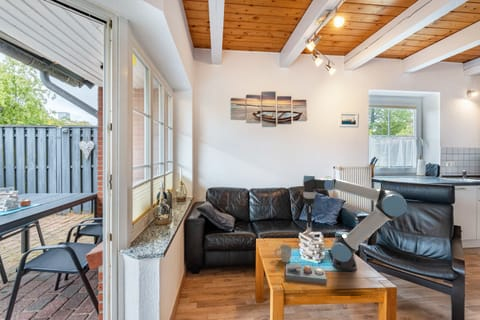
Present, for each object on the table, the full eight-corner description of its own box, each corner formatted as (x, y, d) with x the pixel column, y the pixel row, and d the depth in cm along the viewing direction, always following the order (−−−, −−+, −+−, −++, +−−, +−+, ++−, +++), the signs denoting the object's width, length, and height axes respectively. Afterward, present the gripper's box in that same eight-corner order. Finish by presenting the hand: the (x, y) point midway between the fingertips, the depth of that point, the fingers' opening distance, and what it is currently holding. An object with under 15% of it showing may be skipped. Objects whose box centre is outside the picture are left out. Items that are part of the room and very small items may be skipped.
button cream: (322, 273, 145) (322, 268, 145) (323, 277, 141) (323, 272, 141) (315, 273, 146) (315, 268, 146) (316, 276, 142) (316, 271, 142)
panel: (323, 272, 150) (323, 265, 149) (326, 284, 136) (326, 276, 136) (286, 268, 155) (286, 262, 155) (285, 279, 141) (285, 272, 141)
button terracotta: (310, 270, 147) (310, 265, 146) (311, 273, 142) (311, 268, 142) (304, 269, 147) (304, 264, 147) (304, 273, 143) (304, 268, 143)
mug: (291, 263, 162) (291, 249, 161) (274, 262, 164) (274, 248, 164) (291, 258, 170) (291, 245, 170) (274, 257, 172) (274, 243, 172)
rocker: (301, 264, 148) (300, 262, 148) (301, 268, 143) (300, 266, 143) (288, 266, 150) (288, 264, 150) (288, 269, 145) (288, 268, 145)
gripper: (302, 195, 163) (303, 228, 164) (304, 199, 151) (304, 234, 151) (313, 196, 162) (313, 228, 162) (315, 199, 149) (315, 235, 149)
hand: (309, 231), depth 157 cm, fingers closed
